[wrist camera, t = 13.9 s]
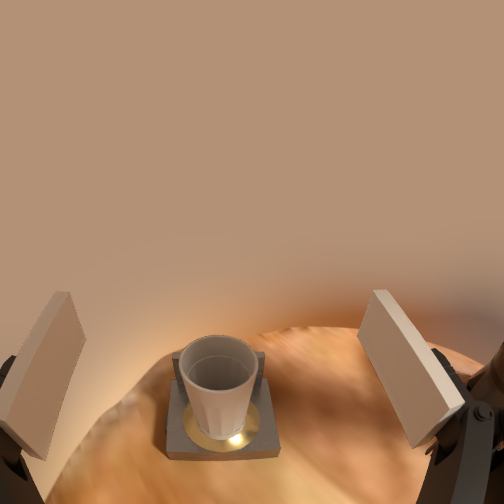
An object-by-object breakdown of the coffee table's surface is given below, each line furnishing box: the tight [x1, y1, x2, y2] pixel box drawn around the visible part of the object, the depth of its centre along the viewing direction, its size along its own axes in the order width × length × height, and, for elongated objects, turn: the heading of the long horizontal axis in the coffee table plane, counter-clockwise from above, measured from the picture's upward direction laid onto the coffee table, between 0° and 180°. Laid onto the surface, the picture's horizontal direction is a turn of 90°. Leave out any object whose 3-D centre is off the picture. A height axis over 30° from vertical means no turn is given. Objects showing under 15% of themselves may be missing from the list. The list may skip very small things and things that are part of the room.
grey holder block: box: [165, 352, 281, 461], centre depth 34 cm, size 14×12×9 cm
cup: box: [179, 335, 258, 440], centre depth 31 cm, size 8×8×12 cm
